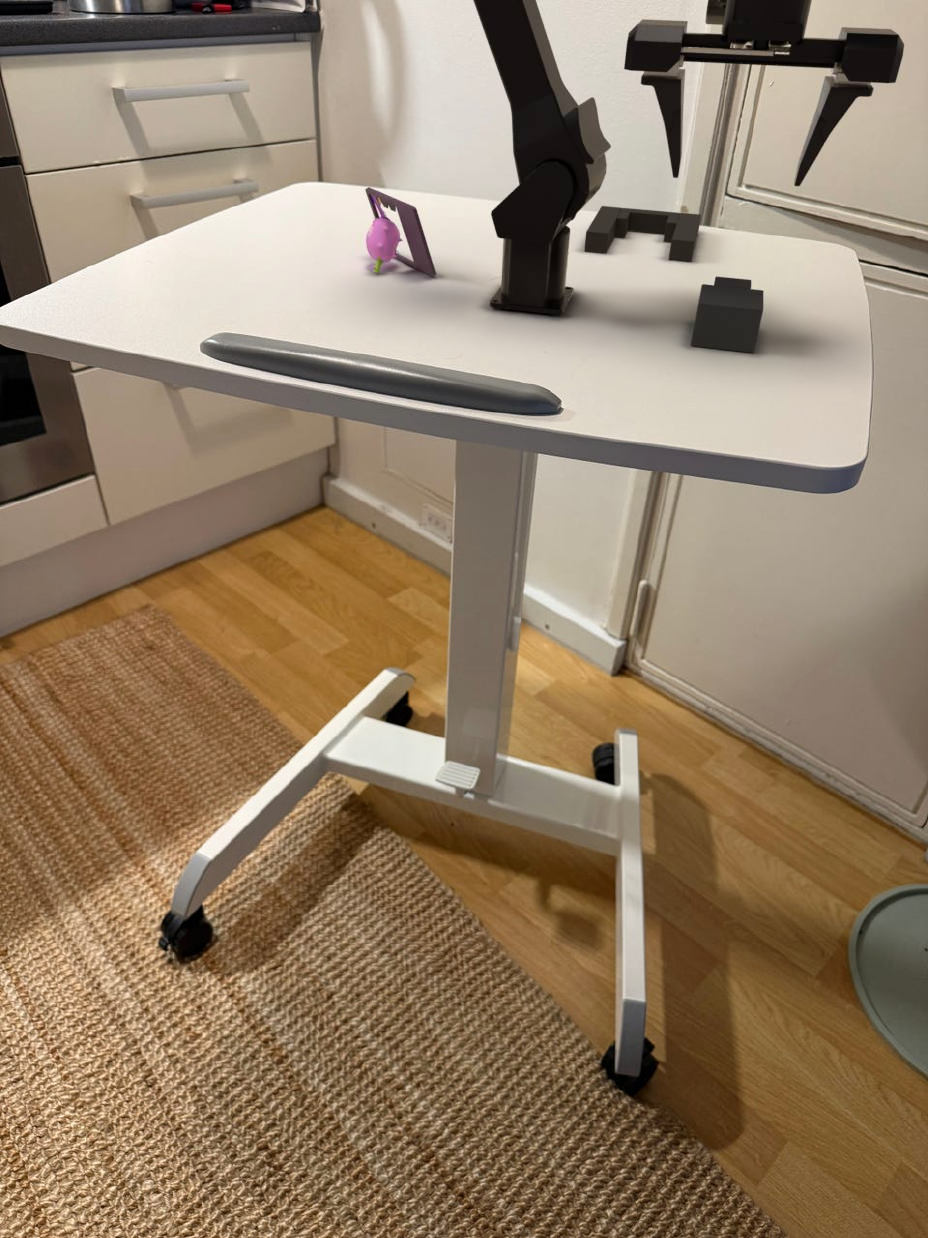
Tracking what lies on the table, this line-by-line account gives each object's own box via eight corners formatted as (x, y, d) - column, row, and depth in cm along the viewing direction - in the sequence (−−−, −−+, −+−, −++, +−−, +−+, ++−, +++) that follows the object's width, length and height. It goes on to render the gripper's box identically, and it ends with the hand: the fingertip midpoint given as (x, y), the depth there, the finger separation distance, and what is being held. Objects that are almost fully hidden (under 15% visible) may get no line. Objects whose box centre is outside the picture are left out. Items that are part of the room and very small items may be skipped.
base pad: (691, 261, 91) (694, 241, 90) (584, 251, 93) (586, 230, 92) (697, 233, 100) (701, 214, 98) (599, 224, 102) (601, 205, 101)
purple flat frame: (422, 203, 81) (374, 182, 87) (375, 230, 80) (329, 208, 86) (443, 271, 86) (395, 247, 92) (399, 298, 85) (354, 272, 90)
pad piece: (753, 353, 72) (763, 309, 70) (690, 346, 73) (698, 302, 71) (754, 321, 78) (763, 280, 76) (696, 315, 79) (703, 274, 77)
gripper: (912, -70, 65) (851, 167, 74) (651, -75, 68) (625, 152, 78) (937, -69, 56) (865, 199, 66) (638, -75, 60) (611, 181, 69)
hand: (735, 180), depth 70 cm, fingers open, 9 cm apart
